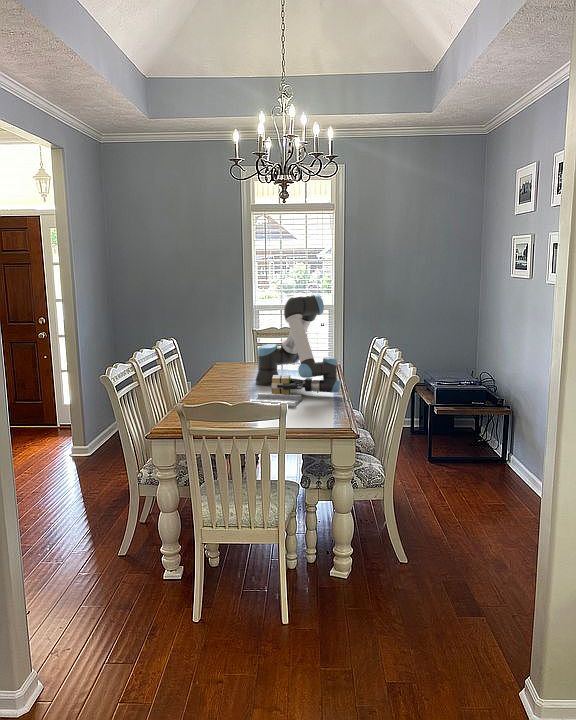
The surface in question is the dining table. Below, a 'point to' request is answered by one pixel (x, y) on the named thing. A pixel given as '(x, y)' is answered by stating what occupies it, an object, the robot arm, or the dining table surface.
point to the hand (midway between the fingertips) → (274, 383)
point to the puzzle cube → (281, 379)
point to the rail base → (278, 399)
